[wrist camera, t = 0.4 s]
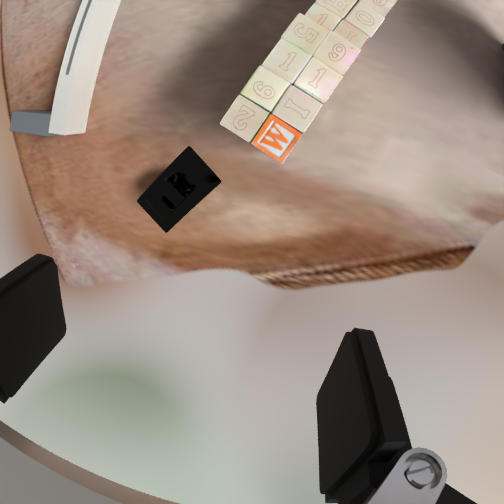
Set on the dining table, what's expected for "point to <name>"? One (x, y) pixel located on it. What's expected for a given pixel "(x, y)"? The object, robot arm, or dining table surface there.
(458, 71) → the dining table surface
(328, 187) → the dining table surface
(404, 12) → the dining table surface
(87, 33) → the guide fence
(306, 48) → the stack of blocks
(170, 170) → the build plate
